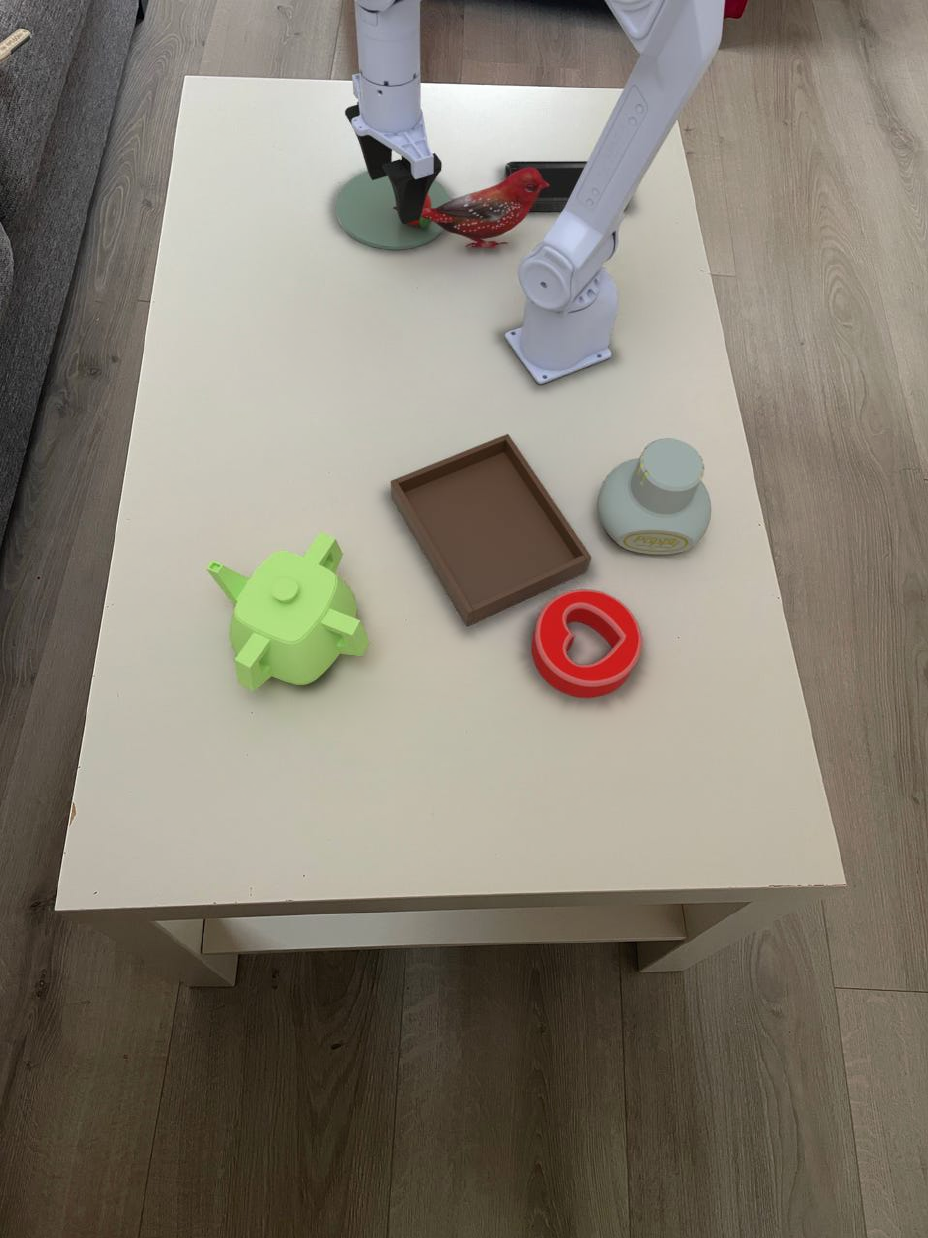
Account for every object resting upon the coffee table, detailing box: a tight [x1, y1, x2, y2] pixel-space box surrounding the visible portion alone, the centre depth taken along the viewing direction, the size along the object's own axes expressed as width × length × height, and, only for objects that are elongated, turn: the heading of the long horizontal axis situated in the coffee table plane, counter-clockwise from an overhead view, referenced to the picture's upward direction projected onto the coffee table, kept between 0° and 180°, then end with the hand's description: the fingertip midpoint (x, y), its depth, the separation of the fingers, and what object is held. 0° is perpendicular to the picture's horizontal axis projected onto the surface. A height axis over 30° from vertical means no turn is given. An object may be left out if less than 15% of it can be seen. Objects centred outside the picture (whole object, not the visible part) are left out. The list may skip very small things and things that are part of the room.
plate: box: [335, 170, 451, 251], centre depth 104 cm, size 14×14×1 cm
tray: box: [390, 433, 592, 627], centre depth 83 cm, size 13×16×3 cm
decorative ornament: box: [531, 588, 643, 699], centre depth 78 cm, size 10×10×3 cm
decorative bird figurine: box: [393, 168, 549, 249], centre depth 97 cm, size 3×18×10 cm, turn 98°
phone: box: [504, 160, 629, 212], centre depth 106 cm, size 8×1×15 cm
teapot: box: [205, 531, 371, 692], centre depth 74 cm, size 12×12×10 cm
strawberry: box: [407, 194, 432, 228], centre depth 101 cm, size 4×4×5 cm
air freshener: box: [597, 437, 712, 555], centre depth 81 cm, size 11×8×10 cm
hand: (394, 197), depth 91 cm, fingers open, 7 cm apart
